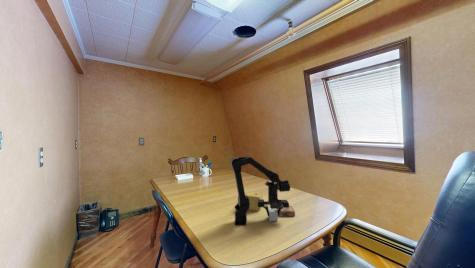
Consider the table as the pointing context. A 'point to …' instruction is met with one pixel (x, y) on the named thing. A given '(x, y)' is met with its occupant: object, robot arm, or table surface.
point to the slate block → (273, 215)
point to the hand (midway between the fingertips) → (272, 216)
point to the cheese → (254, 200)
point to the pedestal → (287, 211)
